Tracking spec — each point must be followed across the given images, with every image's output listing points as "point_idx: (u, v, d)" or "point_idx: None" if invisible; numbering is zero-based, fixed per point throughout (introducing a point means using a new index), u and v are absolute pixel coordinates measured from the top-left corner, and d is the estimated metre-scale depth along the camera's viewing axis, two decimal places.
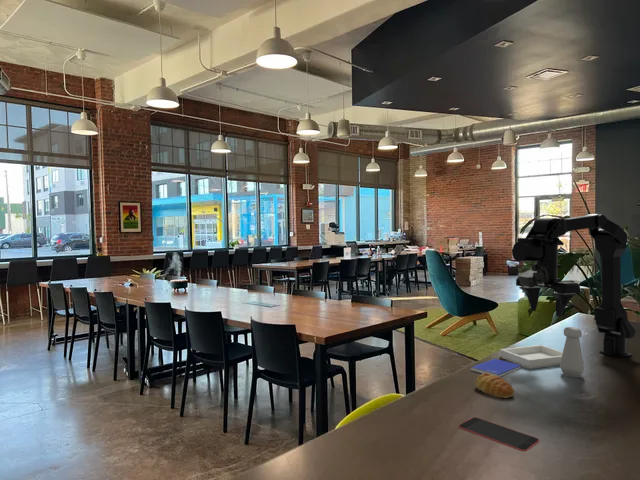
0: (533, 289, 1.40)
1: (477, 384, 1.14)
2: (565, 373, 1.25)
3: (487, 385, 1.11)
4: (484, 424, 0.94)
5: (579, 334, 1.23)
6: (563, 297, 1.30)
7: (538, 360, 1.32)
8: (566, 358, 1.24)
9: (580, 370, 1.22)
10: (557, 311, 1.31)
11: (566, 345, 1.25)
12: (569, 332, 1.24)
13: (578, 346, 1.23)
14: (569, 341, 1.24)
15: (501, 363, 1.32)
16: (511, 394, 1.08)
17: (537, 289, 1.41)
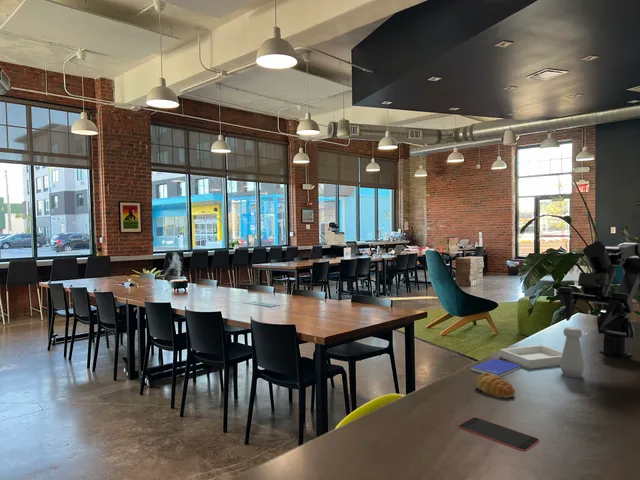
0: (572, 302, 1.36)
1: (478, 384, 1.14)
2: (565, 373, 1.25)
3: (488, 385, 1.12)
4: (484, 424, 0.94)
5: (579, 334, 1.23)
6: (613, 310, 1.28)
7: (538, 360, 1.32)
8: (566, 358, 1.24)
9: (580, 370, 1.22)
10: (604, 319, 1.26)
11: (566, 345, 1.25)
12: (569, 332, 1.24)
13: (578, 346, 1.23)
14: (569, 341, 1.24)
15: (501, 363, 1.32)
16: (512, 394, 1.09)
17: (574, 306, 1.37)
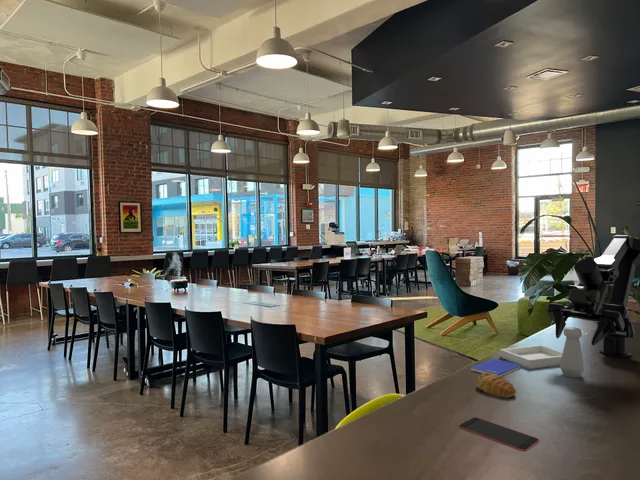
0: (563, 319, 1.32)
1: (478, 384, 1.14)
2: (565, 373, 1.25)
3: (489, 385, 1.12)
4: (484, 424, 0.94)
5: (579, 334, 1.23)
6: (604, 329, 1.24)
7: (538, 360, 1.32)
8: (566, 358, 1.24)
9: (580, 370, 1.22)
10: (595, 337, 1.22)
11: (566, 345, 1.25)
12: (569, 332, 1.24)
13: (578, 346, 1.23)
14: (569, 341, 1.24)
15: (501, 363, 1.32)
16: (513, 393, 1.09)
17: (564, 323, 1.33)
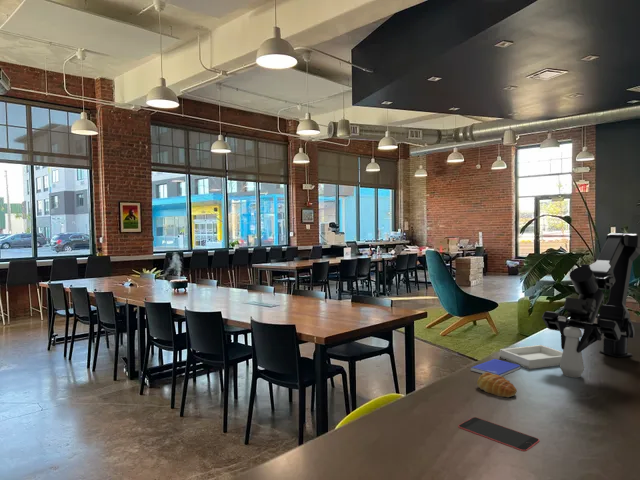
0: None
1: (479, 384, 1.15)
2: (565, 373, 1.25)
3: (489, 384, 1.12)
4: (484, 424, 0.94)
5: (579, 334, 1.23)
6: (589, 336, 1.24)
7: (538, 360, 1.32)
8: (566, 358, 1.24)
9: (580, 370, 1.22)
10: (580, 345, 1.23)
11: (566, 345, 1.25)
12: (569, 332, 1.24)
13: None
14: (569, 341, 1.24)
15: (501, 363, 1.32)
16: (514, 393, 1.09)
17: None
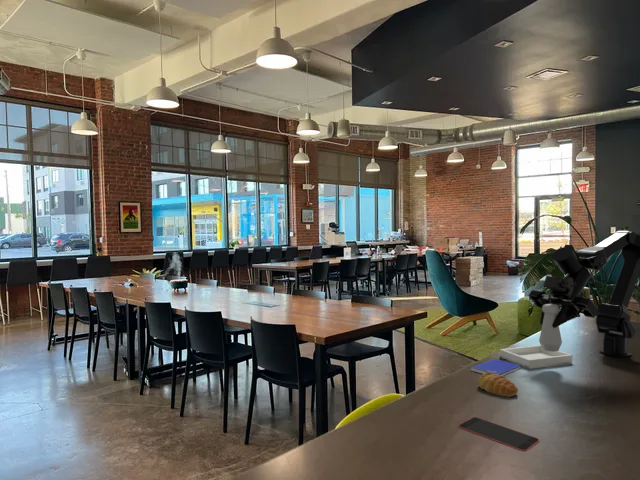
0: None
1: (480, 383, 1.15)
2: (543, 347, 1.32)
3: (491, 384, 1.12)
4: (484, 424, 0.94)
5: (555, 310, 1.29)
6: (567, 313, 1.30)
7: (538, 360, 1.32)
8: (543, 332, 1.31)
9: (555, 344, 1.29)
10: (556, 320, 1.29)
11: (544, 321, 1.32)
12: (545, 308, 1.31)
13: None
14: (546, 316, 1.31)
15: (501, 363, 1.32)
16: (515, 392, 1.10)
17: None
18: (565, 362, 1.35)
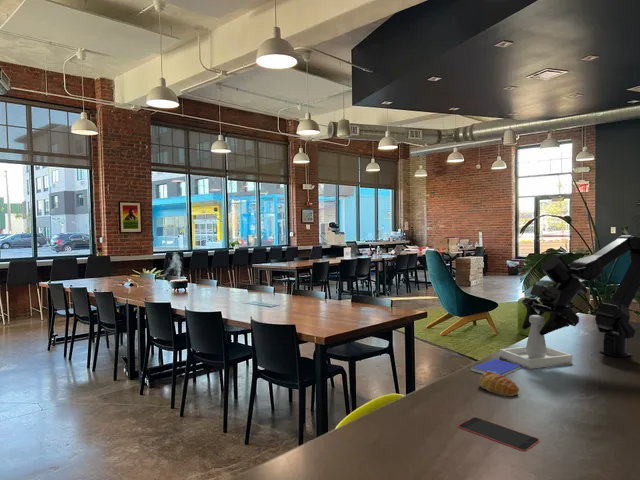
0: (535, 313, 1.43)
1: (481, 383, 1.15)
2: (528, 355, 1.39)
3: (492, 384, 1.13)
4: (484, 424, 0.94)
5: (539, 321, 1.36)
6: (556, 322, 1.34)
7: (538, 360, 1.32)
8: (528, 342, 1.39)
9: (538, 353, 1.36)
10: (543, 328, 1.34)
11: (530, 330, 1.39)
12: (530, 318, 1.38)
13: None
14: (531, 327, 1.38)
15: (501, 363, 1.32)
16: (516, 392, 1.10)
17: None
18: (565, 362, 1.35)
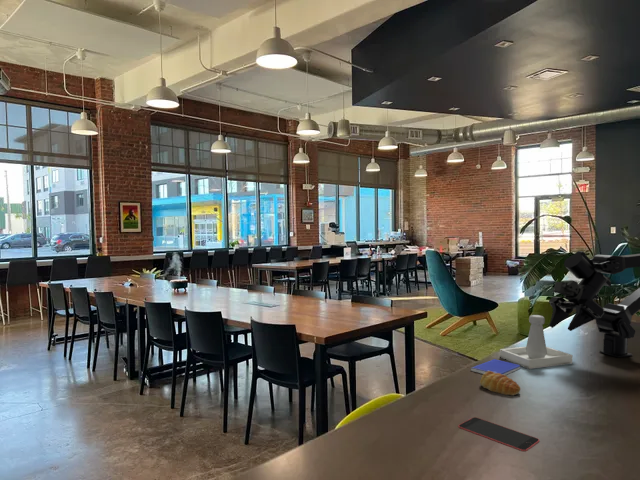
0: (562, 311, 1.46)
1: (482, 382, 1.16)
2: (528, 355, 1.39)
3: (494, 383, 1.13)
4: (484, 424, 0.94)
5: (539, 321, 1.36)
6: (583, 316, 1.35)
7: (538, 360, 1.32)
8: (528, 342, 1.39)
9: (538, 353, 1.36)
10: (571, 324, 1.35)
11: (530, 330, 1.39)
12: (530, 318, 1.38)
13: (539, 332, 1.37)
14: (531, 327, 1.38)
15: (501, 364, 1.32)
16: (518, 391, 1.11)
17: (565, 314, 1.46)
18: (565, 362, 1.35)
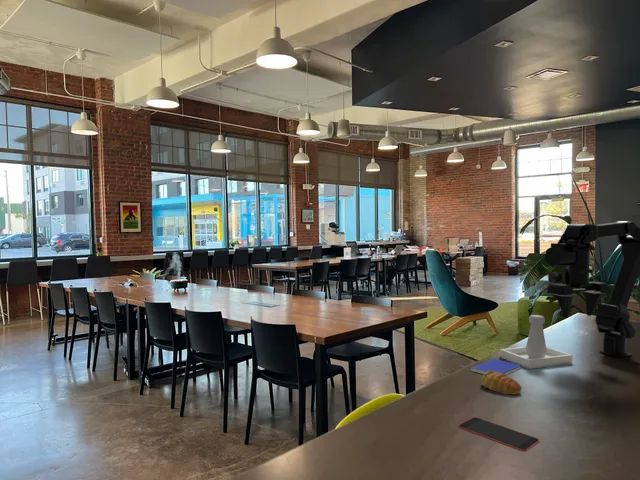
0: (591, 294, 1.41)
1: (483, 382, 1.16)
2: (528, 355, 1.39)
3: (495, 382, 1.13)
4: (484, 424, 0.94)
5: (539, 321, 1.36)
6: (564, 299, 1.37)
7: (538, 360, 1.32)
8: (528, 342, 1.39)
9: (538, 353, 1.36)
10: None
11: (530, 330, 1.39)
12: (530, 318, 1.38)
13: (539, 332, 1.37)
14: (531, 327, 1.38)
15: (501, 364, 1.32)
16: (519, 390, 1.11)
17: (595, 295, 1.40)
18: (565, 362, 1.35)
